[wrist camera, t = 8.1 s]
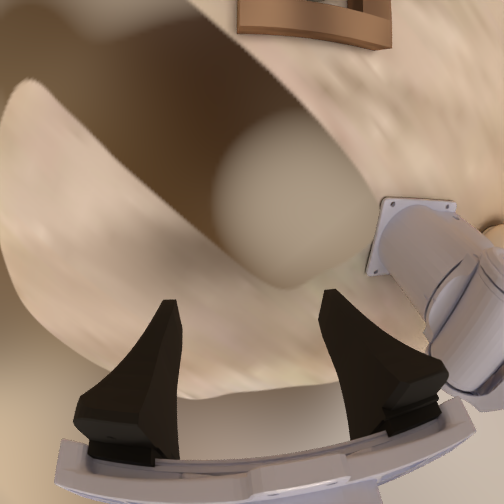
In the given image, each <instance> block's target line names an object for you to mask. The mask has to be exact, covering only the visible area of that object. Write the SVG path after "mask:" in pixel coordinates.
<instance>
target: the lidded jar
mask: <svg viewBox="0 0 504 504" xmlns="http://www.w3.org/2000/svg"><path fill="white" fill-rule="evenodd" d="M482 234H483V235H484V236H486V237H487V238H488V239H489V240H490V241H491V242H492V244H493V245H494V247H501V248H503V249H504V224H501V225H497V226H491V227H489V228H487V229H486V230H485V231H484V232H483V233H482Z"/></svg>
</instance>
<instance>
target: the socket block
mask: <svg viewBox="0 0 504 504" xmlns="http://www.w3.org/2000/svg"><path fill="white" fill-rule="evenodd" d="M347 2H348V9H347V8H343V7H339V6H334V5H329V4H323V3H318V2H312V1H305V0H238V1H237V34H270V35H284V36H295V37H304V38H312V39H319V40H325V41H332V42H337V43H343V44H348V45H353V46H357V47H362V48H366V49H370V50H374V51H375V50H382V49H390V48H392V16H391V0H347Z"/></svg>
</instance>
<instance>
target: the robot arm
mask: <svg viewBox="0 0 504 504" xmlns="http://www.w3.org/2000/svg"><path fill="white" fill-rule="evenodd" d="M392 202H393V204H392V205H391V203H392ZM446 205H447V206H446ZM456 207H457V204H456V202H454V201H446V200H431V199H414V198H393V197H386V198H384V199H383V200H382V203H381V208H380V213H379V218H378V223H377V227H376V232H375V236H374V240H373V244H372V248H371V253H370V256H369V260H368V264H367V268H366V274H367V275H368V276H378V275H388V274H391V275H392V277H393V278H394V279H395V281H396V282H397V283H398V285H399V286H400V287H401V289H402V290H403V291H404V293H405V294H406V296H407V297H408V298H409V300H410V301H411V302H412V304H413V305H414V307H415V308H416V310H417V311H418V312H419V314H420V315H421V317H422V318H423V320H424V321H425V323H426V328H425V330H424V331H423V334H424V335H425V337H426V338H427V340H428V341H429V344H428V346H427V348H426V351H425V354H424V353H421V352H419V351H417V350H415V349H413V348H411V347H409V346H407V345H405V344H403V343H402V342H400V341H398V340H397V339H395V338H393V337H392V336H390V335H389V334H387V333H386V332H385V331H383V330H382V329H380V328H379V327H378V326H376V325H375V324H374V323H373V322H371V321H370V320H369V319H368V318H367V317H366V316H364V315H363V314H362V313H361V312H360V311H359V310H358V309H357V308H355V307H354V306H353V305H352V304H351V303H350V302H349V301H348V300H347V299H346V298H345V297H344V296H343V295H342V294H341V293H340V292H339V291H337V290H336V289H330V290H324V294H323V299H322V304H321V309H320V313H319V318H318V321H319V325H320V329H321V333H322V337H323V339H324V342H325V344H326V347H327V349H328V352H329V354H330V357H331V359H332V362H333V364H334V367H335V369H336V372H337V375H338V378H339V382H340V386H341V390H342V394H343V399H344V403H345V408H346V413H347V419H348V425H349V433H350V441H347V442H344V443H339V444H335V445H331V446H327V447H322V448H317V449H312V450H306V451H301V452H295V453H289V454H282V455H275V456H266V457H256V458H245V459H229V460H180V456H179V445H178V430H177V384H178V375H179V368H180V360H181V352H182V324H181V320H180V316H179V311H178V306H177V301H176V300H163V301H162V303H161V305H160V306H159V308H158V310H157V312H156V314H155V315H154V317H153V319H152V320H151V322H150V324H149V325H148V327H147V328H146V330H145V332H144V333H143V334H142V336H141V337H140V339H139V340H138V342H137V343H136V344H135V346H134V347H133V348H132V350H131V351H130V352H129V353H128V354H127V356H126V357H125V358H124V359H123V360H122V361H121V362H120V363H119V364H118V366H117V367H116V368H115V369H114V370H113V371H112V372H111V373H110V374H108V375H107V376H106V377H105V378H104V379H103V380H102V381H101V382H99V383H98V384H97V385H95V386H94V387H93V388H91V389H90V390H88V391H87V392H86V393H84V394H83V395H81V396H80V398H79V401H78V403H77V407H76V411H75V415H74V419H73V423H74V425H75V427H76V428H77V429H78V430H79V431H80V432H81V433H83V434H84V435H85V436H86V437H87V438H88V439H89V446H88V445H87V444H84V443H81V442H77V441H72V440H68V439H64V438H63V439H61V444H60V450H59V455H58V460H57V466H56V474H55V480H54V483H55V484H56V485H57V486H59V487H61V488H64V489H66V490H68V491H70V492H72V493H75V494H77V495H80V496H82V497H85V498H89V499H93V500H96V501H100V502H105V503H109V504H383V503H382V499H381V496H380V492H379V489H378V486H379V485H382V484H384V483H386V482H389V481H392V480H394V479H396V478H399V477H401V476H403V475H405V474H407V473H410V472H412V471H414V470H416V469H418V468H420V467H422V466H424V465H426V464H428V463H430V462H432V461H434V460H436V459H438V458H440V457H441V456H443V455H445V454H447V453H448V452H450V451H452V450H453V449H455V448H456V447H458V446H459V445H460V444H461V443H463V442H464V441H466V440H467V439H468V438H469V437H471V436H472V435H473V434H475V433H476V429H475V427H474V424H473V423H472V420H471V418H470V416H469V415H468V412H467V410H466V409H465V407H464V405H463V403H462V401H461V399H463V400H465V401H467V402H469V403H470V404H472V405H473V406H474V407H475V408H476V409H477V410H478V411H480V412H489V411H497V410H502V409H504V249H503V248H501V247H494V245H493V244H492V242H491V241H490V240H489V239H488V238H487V237H486V236H484V235H483V234H482V233H481V232H480V231H478V230H477V229H476V228H475V227H473V226H472V225H471V224H470V223H468V222H467V221H466V220H464V219H463V218H462V217H460V216H459V215H458V214H456V213H455V211H456ZM375 270H376V271H375ZM374 271H375V272H374ZM440 389H442V390H443V391H445V392H446V393H448V394H449V395H451V396H454V398H452V399H450V400H448V401H445V402H444V403H442V404H440V405H438V403H437V401H438V399H439V397H438V395H437V392H438V391H439V390H440Z"/></svg>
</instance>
